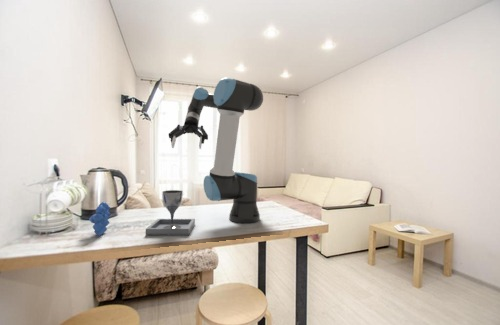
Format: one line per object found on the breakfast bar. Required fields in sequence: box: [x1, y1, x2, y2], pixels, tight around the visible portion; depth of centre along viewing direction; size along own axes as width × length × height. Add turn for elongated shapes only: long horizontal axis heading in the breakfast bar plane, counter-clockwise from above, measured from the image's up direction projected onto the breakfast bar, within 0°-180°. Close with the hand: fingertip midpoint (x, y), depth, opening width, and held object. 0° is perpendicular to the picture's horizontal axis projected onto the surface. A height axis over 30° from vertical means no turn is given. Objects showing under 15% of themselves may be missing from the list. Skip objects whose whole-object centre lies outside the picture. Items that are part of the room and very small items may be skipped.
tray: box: [145, 218, 196, 237], centre depth 94 cm, size 16×15×3 cm
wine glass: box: [161, 189, 184, 228], centre depth 94 cm, size 8×8×15 cm
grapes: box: [88, 201, 111, 237], centre depth 86 cm, size 12×7×12 cm, turn 16°
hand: (186, 146), depth 114 cm, fingers open, 13 cm apart
